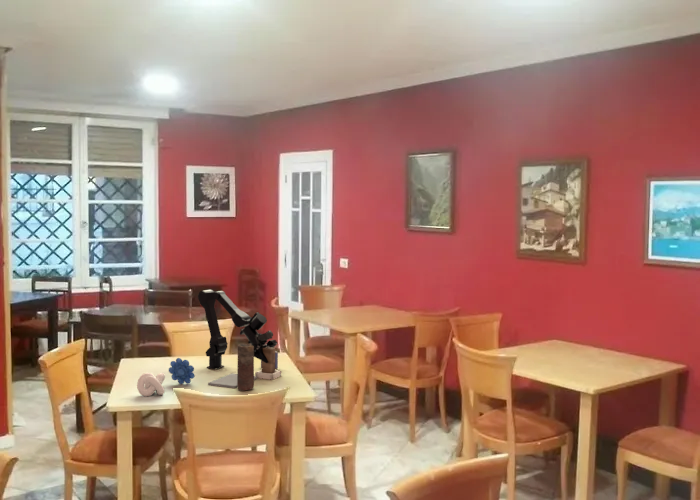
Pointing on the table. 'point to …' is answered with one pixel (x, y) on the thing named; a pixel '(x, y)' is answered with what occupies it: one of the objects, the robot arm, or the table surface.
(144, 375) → the pink knotted tube
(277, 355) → the flask
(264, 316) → the robot arm
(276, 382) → the table surface
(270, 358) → the brown wooden block
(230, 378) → the serving board
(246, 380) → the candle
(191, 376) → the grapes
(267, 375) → the socket frame
